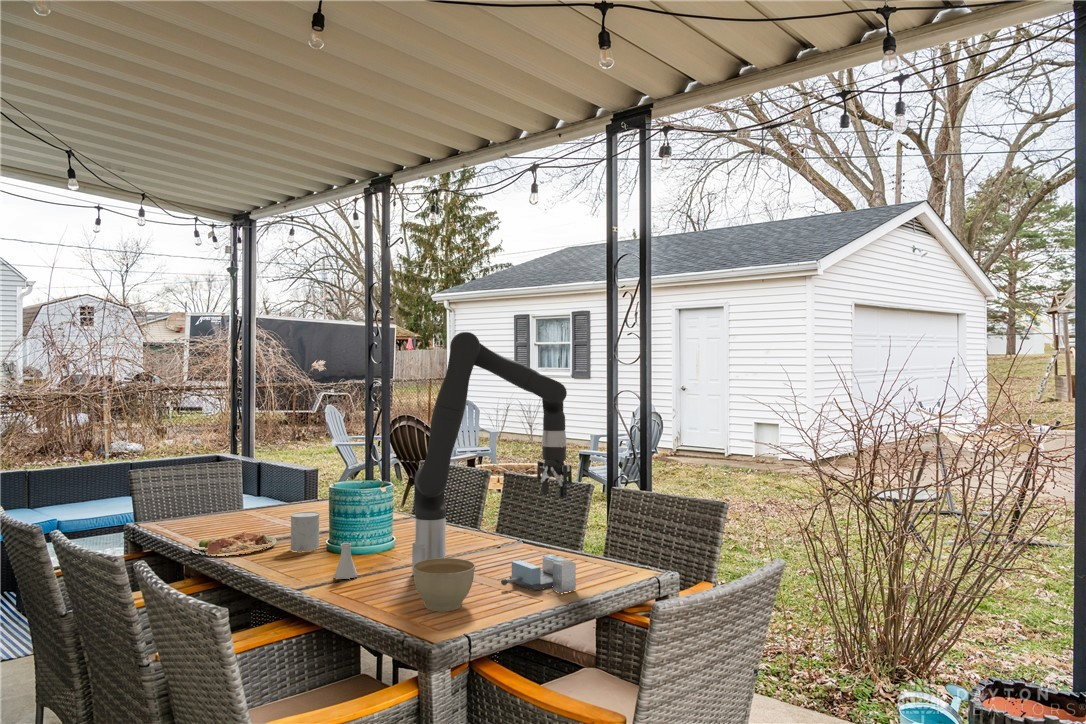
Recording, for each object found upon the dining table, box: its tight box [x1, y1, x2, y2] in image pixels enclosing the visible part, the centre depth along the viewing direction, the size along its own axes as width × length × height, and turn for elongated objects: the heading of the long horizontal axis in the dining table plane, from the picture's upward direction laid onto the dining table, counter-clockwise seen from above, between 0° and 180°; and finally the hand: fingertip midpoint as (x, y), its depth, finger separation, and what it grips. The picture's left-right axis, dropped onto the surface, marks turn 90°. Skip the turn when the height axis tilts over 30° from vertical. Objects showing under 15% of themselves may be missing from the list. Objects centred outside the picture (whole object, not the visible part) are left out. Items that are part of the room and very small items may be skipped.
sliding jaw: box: [500, 559, 542, 586], centre depth 206 cm, size 10×10×5 cm
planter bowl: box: [413, 557, 476, 613], centre depth 189 cm, size 16×16×11 cm
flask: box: [333, 542, 358, 580], centre depth 216 cm, size 7×7×10 cm
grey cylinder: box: [290, 511, 320, 552], centre depth 251 cm, size 10×10×12 cm
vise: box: [509, 554, 567, 592], centre depth 212 cm, size 15×12×6 cm
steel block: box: [552, 559, 577, 594], centre depth 203 cm, size 5×4×8 cm
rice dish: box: [191, 531, 277, 554], centre depth 253 cm, size 28×28×5 cm
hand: (554, 496), depth 227 cm, fingers open, 8 cm apart
